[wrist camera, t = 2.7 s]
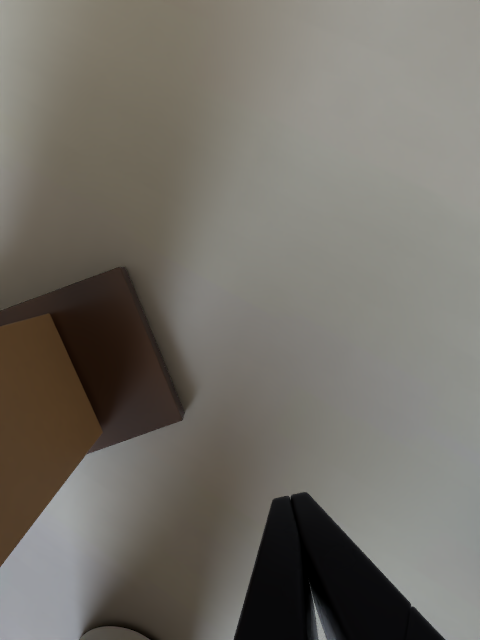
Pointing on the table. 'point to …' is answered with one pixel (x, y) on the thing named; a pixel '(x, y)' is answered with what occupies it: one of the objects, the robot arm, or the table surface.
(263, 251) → the table surface
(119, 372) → the ramp
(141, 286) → the table surface
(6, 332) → the carton
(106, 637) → the travel mug
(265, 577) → the robot arm
